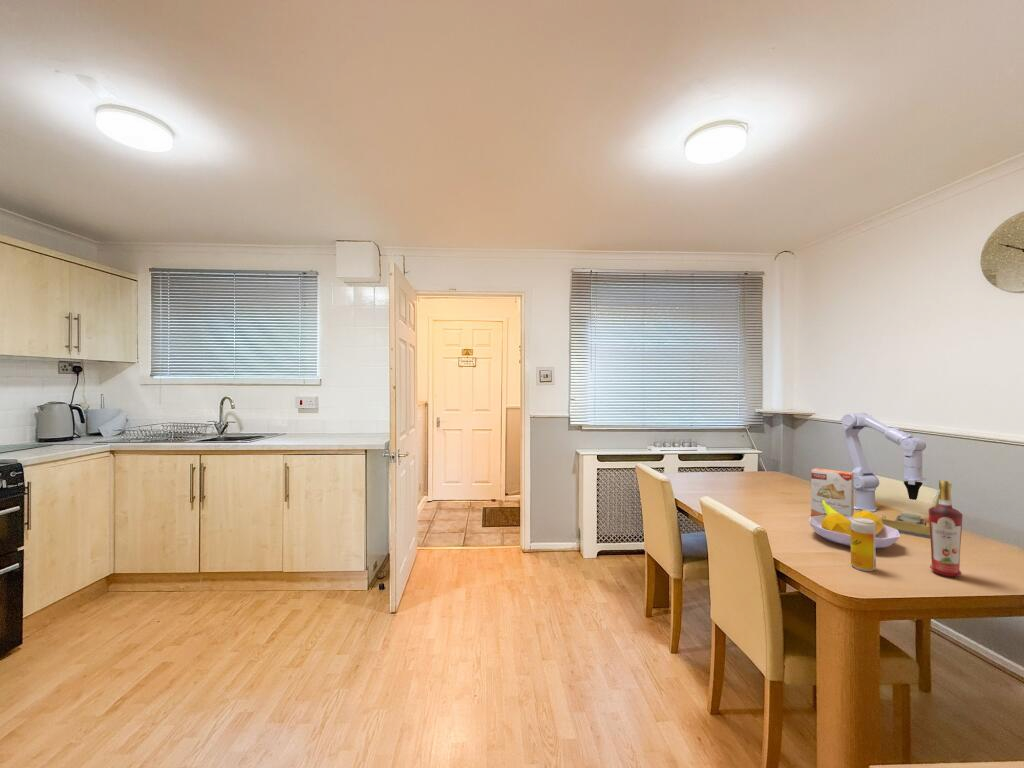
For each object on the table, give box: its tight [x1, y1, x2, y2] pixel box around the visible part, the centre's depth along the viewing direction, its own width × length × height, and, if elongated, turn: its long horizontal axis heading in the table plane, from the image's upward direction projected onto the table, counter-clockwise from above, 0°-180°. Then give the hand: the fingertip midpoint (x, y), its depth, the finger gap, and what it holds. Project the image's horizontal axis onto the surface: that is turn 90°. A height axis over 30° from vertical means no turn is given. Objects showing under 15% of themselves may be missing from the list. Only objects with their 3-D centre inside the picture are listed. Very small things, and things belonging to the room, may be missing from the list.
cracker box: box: [810, 467, 855, 517], centre depth 185 cm, size 14×6×21 cm, turn 45°
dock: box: [880, 514, 931, 540], centre depth 173 cm, size 16×18×4 cm
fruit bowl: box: [808, 500, 901, 549], centre depth 161 cm, size 28×27×11 cm
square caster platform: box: [894, 511, 927, 526], centre depth 172 cm, size 10×9×5 cm
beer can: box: [850, 518, 877, 572], centre depth 137 cm, size 6×6×15 cm
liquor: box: [928, 480, 963, 578], centre depth 132 cm, size 7×7×28 cm
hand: (913, 499), depth 183 cm, fingers closed
